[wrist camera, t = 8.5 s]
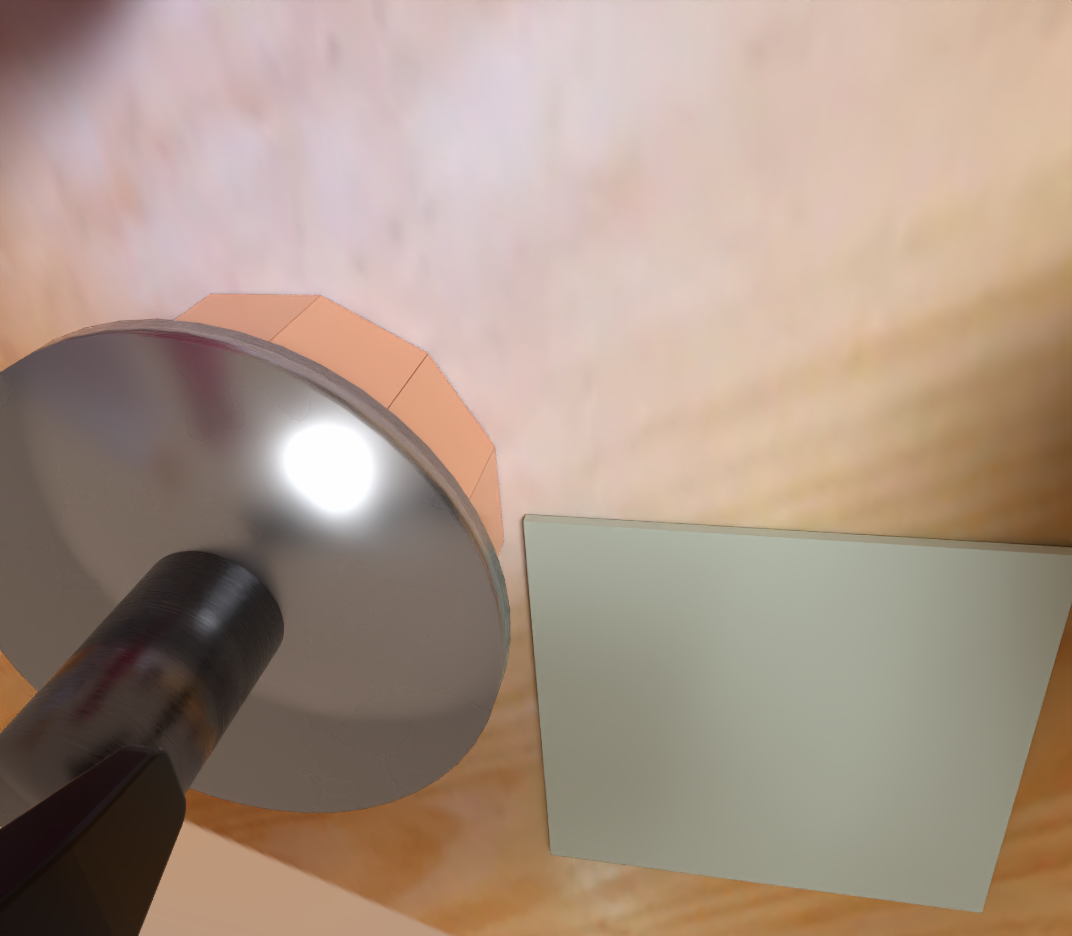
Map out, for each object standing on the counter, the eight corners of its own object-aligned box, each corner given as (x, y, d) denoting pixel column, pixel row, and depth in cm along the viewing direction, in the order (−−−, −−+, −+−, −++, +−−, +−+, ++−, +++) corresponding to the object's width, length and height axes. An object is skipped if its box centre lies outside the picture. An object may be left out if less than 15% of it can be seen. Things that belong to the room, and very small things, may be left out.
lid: (483, 325, 15) (356, 520, 11) (529, 814, 22) (461, 1080, 17) (-124, 313, 18) (-454, 466, 13) (71, 755, 24) (-104, 972, 19)
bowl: (480, 296, 20) (422, 378, 16) (514, 653, 24) (476, 772, 21) (69, 292, 22) (-58, 364, 18) (178, 622, 26) (94, 727, 23)
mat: (1081, 548, 20) (1085, 556, 19) (979, 903, 26) (982, 913, 26) (525, 514, 22) (523, 521, 22) (552, 846, 28) (551, 854, 28)
